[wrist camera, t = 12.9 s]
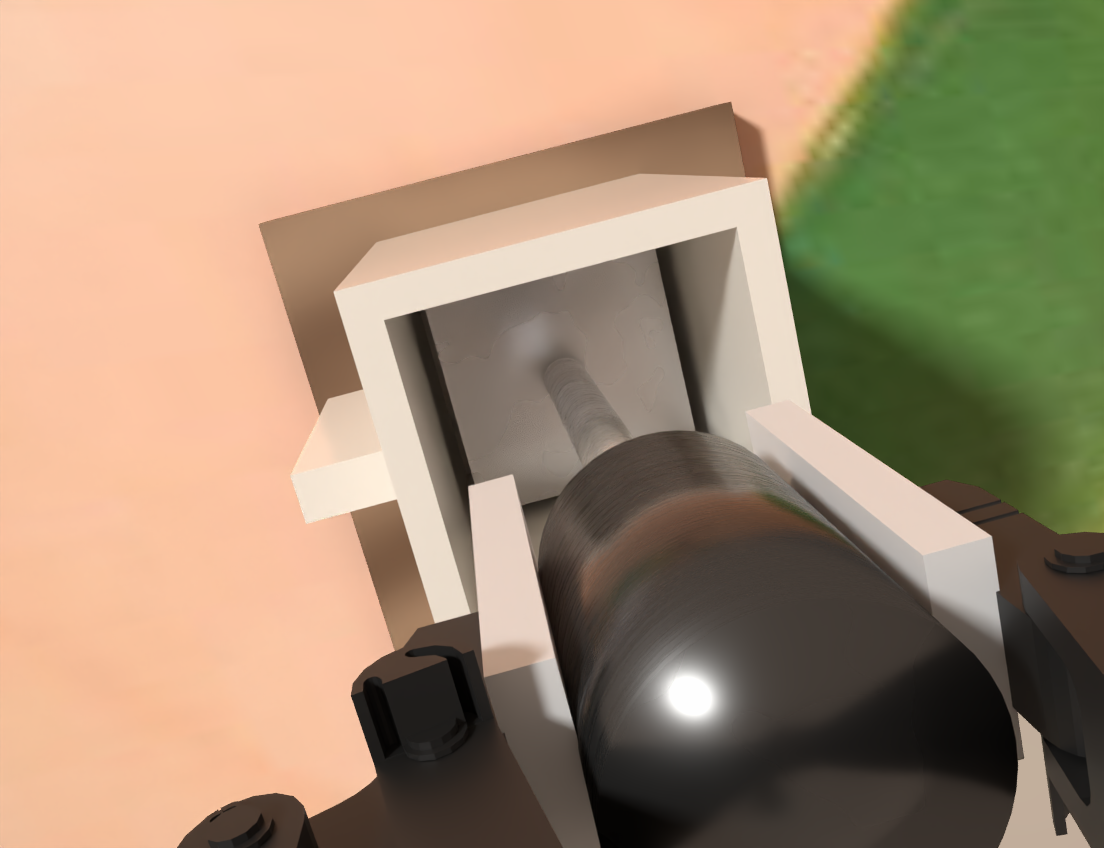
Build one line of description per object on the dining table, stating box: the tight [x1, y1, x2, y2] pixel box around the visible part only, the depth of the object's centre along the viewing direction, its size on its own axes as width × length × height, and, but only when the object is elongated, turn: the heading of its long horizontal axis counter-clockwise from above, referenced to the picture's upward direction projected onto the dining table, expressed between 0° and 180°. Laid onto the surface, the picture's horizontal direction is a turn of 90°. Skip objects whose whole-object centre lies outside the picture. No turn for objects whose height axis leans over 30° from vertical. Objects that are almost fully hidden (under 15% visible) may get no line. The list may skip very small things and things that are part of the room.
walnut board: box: [259, 102, 746, 651], centre depth 38 cm, size 25×16×2 cm, turn 14°
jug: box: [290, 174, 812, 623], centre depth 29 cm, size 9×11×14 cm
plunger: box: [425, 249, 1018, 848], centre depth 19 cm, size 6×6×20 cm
